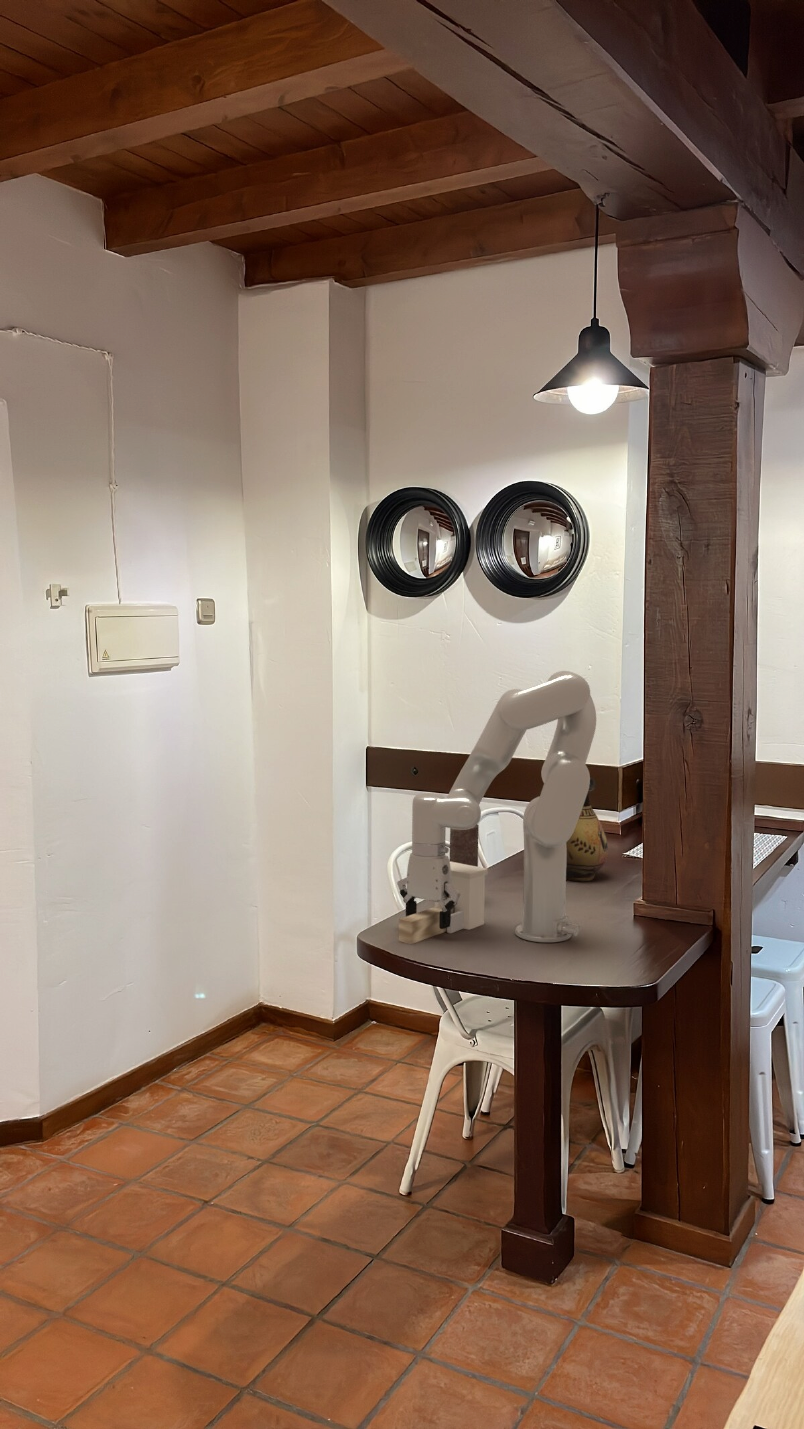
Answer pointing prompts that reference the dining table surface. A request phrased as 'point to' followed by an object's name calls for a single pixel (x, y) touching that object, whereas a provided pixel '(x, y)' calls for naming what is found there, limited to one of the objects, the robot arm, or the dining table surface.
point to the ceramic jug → (586, 844)
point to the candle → (464, 846)
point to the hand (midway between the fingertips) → (427, 923)
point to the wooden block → (421, 925)
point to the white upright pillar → (467, 896)
